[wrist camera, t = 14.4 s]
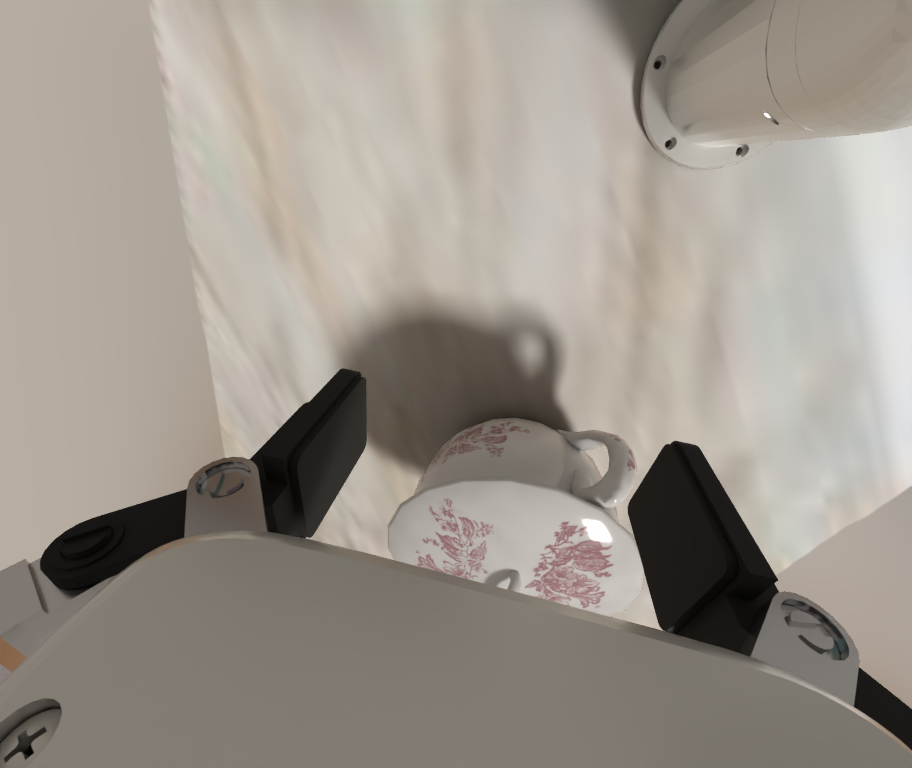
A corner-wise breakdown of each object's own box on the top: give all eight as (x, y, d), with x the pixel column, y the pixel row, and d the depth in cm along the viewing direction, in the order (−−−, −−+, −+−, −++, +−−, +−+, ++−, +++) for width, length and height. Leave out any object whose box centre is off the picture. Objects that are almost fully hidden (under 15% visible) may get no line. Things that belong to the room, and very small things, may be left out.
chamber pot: (455, 523, 63) (424, 660, 45) (398, 398, 50) (325, 522, 33) (626, 518, 54) (668, 685, 36) (609, 363, 41) (661, 508, 24)
